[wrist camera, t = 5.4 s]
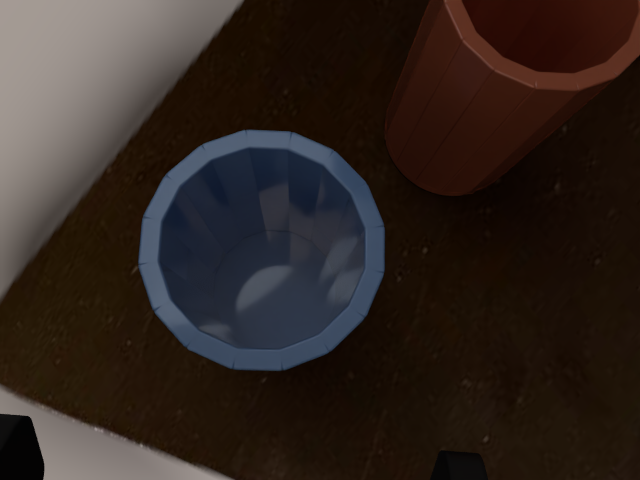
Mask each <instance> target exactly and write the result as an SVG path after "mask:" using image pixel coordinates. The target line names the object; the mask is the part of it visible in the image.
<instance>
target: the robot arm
mask: <svg viewBox="0 0 640 480" xmlns="http://www.w3.org/2000/svg"><path fill="white" fill-rule="evenodd" d="M43 477H44V461H43V457H42V454H41V450H40V447H39V443H38V440H37V437H36V433H35V429H34V426H33V423H32V420H31V418H30V417H29V416H20V415H9V414H0V480H43ZM430 480H488V478H487V474H486V470H485V466H484V462H483V459H482V457H481V456H480V454H478V453H467V452H455V451H440V452H439V454H438V457H437V460H436V463H435V466H434V469H433V472H432V475H431V478H430Z"/></svg>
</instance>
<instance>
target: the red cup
mask: <svg viewBox="0 0 640 480" xmlns="http://www.w3.org/2000/svg"><path fill="white" fill-rule="evenodd" d="M639 56H640V0H429V3H428V5H427V8H426V10H425V13H424V16H423V18H422V21H421V23H420V26H419V29H418V31H417V34H416V36H415V39H414V41H413V44H412V47H411V49H410V52H409V54H408V57H407V60H406V62H405V65H404V67H403V70H402V73H401V75H400V78H399V80H398V83H397V85H396V88H395V91H394V93H393V96H392V98H391V101H390V104H389V106H388V109H387V112H386V118H385V124H384V136H385V142H386V146H387V149H388V152H389V155H390V157H391V159H392V161H393V162H394V164H395V165H396V167H397V168H398V169H399V171H400V172H401V173H402V174H403V175H404V176H405V177H406V178H407V179H409V180H410V181H411V182H412V183H414V184H415V185H417V186H419V187H421V188H423V189H424V190H427V191H430V192H432V193H436V194H440V195H447V196H461V195H467V194H471V193H474V192H477V191H480V190H482V189H484V188H486V187H487V186H489V185H490V184H492V183H494V182H495V181H496V180H498V179H499V178H500V177H501V176H502V175H503V174H505V173H506V172H507V171H508V170H509V169H510V168H512V167H513V166H514V165H515V164H516V163H517V162H519V161H520V160H521V159H522V158H523V157H524V156H526V155H527V154H528V153H529V152H530V151H531V150H533V149H534V148H535V147H536V146H537V145H539V144H540V143H541V142H542V141H543V140H544V139H546V138H547V137H548V136H549V135H550V134H551V133H553V132H554V131H555V130H556V129H557V128H558V127H560V126H561V125H562V124H563V123H564V122H565V121H567V120H568V119H569V118H570V117H571V116H572V115H574V114H575V113H576V112H577V111H578V110H579V109H581V108H582V107H583V106H584V105H585V104H586V103H588V102H589V101H590V100H591V99H592V98H594V97H595V96H596V95H597V94H598V93H599V92H601V91H602V90H603V89H604V88H605V87H606V86H608V85H609V84H610V83H611V82H612V81H613V80H615V79H616V78H617V77H618V76H619V75H620V74H621V73H622V72H623V71H624V70H625V69H626V68H627V67H628V66H629V65H630V64H631V63H632V62H634V61H635V60H636V59H637V58H638V57H639Z"/></svg>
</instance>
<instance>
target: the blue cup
mask: <svg viewBox="0 0 640 480" xmlns="http://www.w3.org/2000/svg"><path fill="white" fill-rule="evenodd" d="M143 217H144V218H143V219H142V227H141V237H140V248H139V259H138V264H139V270H140V273H141V276H142V279H143V282H144V285H145V289H146V292H147V295H148V298H149V301H150V304H151V307H152V309H153V311H154V313H155V314H156V315H157V317H158V318H159V319H160V320H161V321H162V322H163V323H164V324H165V326H166V327H167V328H168V329H169V330H170V331H171V332H172V333H173V335H174V336H175V337H176V338H177V339H178V340H179V341H180V342H181V343H182V345H183V346H184V347H186V348H187V349H188V350H190V351H192V352H194V353H196V354H199V355H201V356H203V357H205V358H207V359H210V360H212V361H214V362H216V363H218V364H220V365H223V366H225V367H227V368H229V369H234V370H257V371H282V370H287V369H290V368H292V367H295V366H298V365H300V364H303V363H305V362H308V361H310V360H313V359H315V358H318V357H321V356H323V355H326V354H328V353H329V352H330V351H332V350H333V349H334V348H335V347H337V346H338V345H339V344H340V343H341V342H342V341H343V340H344V339H345V338H346V337H347V336H348V335H349V334H350V333H351V332H352V331H353V330H354V329H355V328H356V327H357V326H358V325H359V324H360V323H361V322H362V321H363V320H364V318H365V317H366V316H367V314H368V312H369V309H370V307H371V305H372V302H373V300H374V298H375V295H376V293H377V291H378V288H379V286H380V284H381V281H382V279H383V277H384V274H383V273H384V272H385V228H384V223H383V220H382V218H381V216H380V213H379V211H378V208H377V206H376V203H375V201H374V198H373V196H372V194H371V191H370V189H369V186H368V185H367V184H366V182H365V181H364V180H363V178H362V177H361V176H360V175H359V174H358V173H357V172H356V171H355V170H354V169H353V168H352V167H351V166H350V165H349V164H348V163H347V162H346V161H345V160H344V159H343V158H342V157H341V156H340V155H339V154H338V153H337V152H335V151H334V150H333V149H331V148H328V147H326V146H324V145H321V144H319V143H317V142H315V141H312V140H310V139H308V138H306V137H303V136H301V135H299V134H297V133H292V132H288V131H266V130H243V131H240V132H237V133H234V134H231V135H228V136H225V137H222V138H219V139H216V140H213V141H210V142H207V143H204V144H202V146H199V147H198V148H196V149H195V150H194V151H193V152H192V153H191V154H189V155H188V156H187V157H186V158H185V159H183V160H182V161H181V162H180V163H179V164H177V165H176V166H175V167H174V168H173V169H171V170H170V171H169V172H168V173H167V174H166V176H164V178H163V179H162V181H161V183H160V185H159V187H158V189H157V191H156V193H155V194H154V196H153V198H152V200H151V202H150V204H149V206H148V208H147V209H146V211H145V213H144V216H143Z"/></svg>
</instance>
